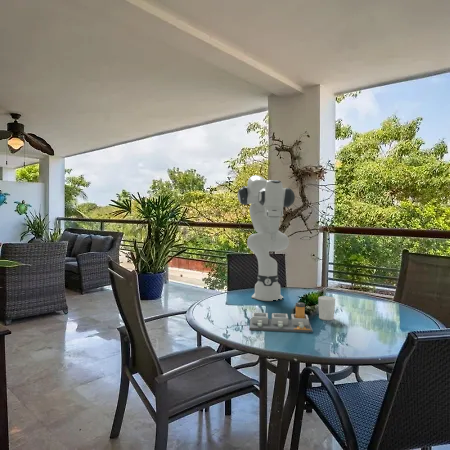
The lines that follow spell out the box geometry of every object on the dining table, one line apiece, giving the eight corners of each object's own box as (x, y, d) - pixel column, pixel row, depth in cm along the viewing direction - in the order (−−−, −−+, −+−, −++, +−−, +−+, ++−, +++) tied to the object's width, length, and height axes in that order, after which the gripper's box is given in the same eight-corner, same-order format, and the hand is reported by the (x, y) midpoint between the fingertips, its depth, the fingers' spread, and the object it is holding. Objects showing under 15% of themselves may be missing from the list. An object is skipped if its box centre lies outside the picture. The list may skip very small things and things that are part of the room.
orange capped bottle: (293, 322, 164) (294, 302, 163) (300, 321, 165) (300, 301, 165) (299, 324, 160) (299, 305, 160) (306, 323, 162) (306, 304, 162)
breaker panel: (250, 320, 170) (250, 311, 170) (308, 322, 167) (308, 314, 167) (249, 329, 156) (249, 320, 156) (312, 332, 153) (312, 323, 153)
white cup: (334, 316, 177) (335, 296, 176) (335, 321, 169) (335, 300, 169) (318, 315, 179) (318, 295, 178) (317, 320, 171) (318, 299, 171)
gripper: (267, 212, 187) (266, 239, 188) (267, 212, 167) (267, 242, 167) (279, 212, 187) (278, 239, 187) (281, 212, 166) (280, 242, 167)
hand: (273, 240), depth 177 cm, fingers open, 8 cm apart
